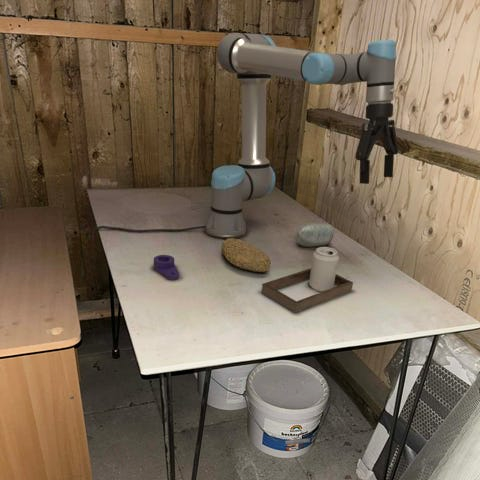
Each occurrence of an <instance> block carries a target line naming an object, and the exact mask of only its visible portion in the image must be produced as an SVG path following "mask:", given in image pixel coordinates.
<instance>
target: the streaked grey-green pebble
mask: <svg viewBox="0 0 480 480" xmlns="http://www.w3.org/2000/svg"><path fill="white" fill-rule="evenodd" d="M334 233H335V231H334V227H333V226H332V225H331V224H329V223H326V222H320V221H319V222H318V221H317V222H315V221H313V222H308V223H304V224H302V225H301V226H300V227H299V228H298V230H297V232H296V236H295V240H296V242H297V244H298V245H299V246H301V247H305V248H315V247H316V248H317V247H324V246H327V245H328V244H330V242H332V240H333V238H334Z"/></svg>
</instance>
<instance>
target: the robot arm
mask: <svg viewBox="0 0 480 480" xmlns="http://www.w3.org/2000/svg"><path fill="white" fill-rule="evenodd" d="M216 59H217V62H218V63H219V65H220V67H221V68H222V69H223V70H224V71H226V72H228V73H231V74H236V80H237V82H238V83H239V84H240V86H241V155H242V156H241V158H240V159H239V160H238V163H237V165H236V164H235V165H233V164H230V165H222V166H218V167H217V168H215V169H214V170H213V172H212V174H211V181H210V212H209V214H208V218H207V220H206V222H205V225H200V226H199V225H198V226H192V227H184V228H152V229H151V228H150V229H133V228H126V227H125V228H124V227H118V226H109V225H108V226H107V225H99V226H96V227H95V228H94V229H93V231H94V232H97V230H100V229H108V230H117V231H118V230H119V231H124V232H125V231H126V232H130V233H131V232H133V233H149V232H150V233H151V232H184V231H190V230H197V229H198V230H199V229H204V231H205V233H206V234H207V235H208V236H210V237H213V238H216V239H223V240H227V239H230V238H234V239H239V238H242V237H244V236H245V235H246V233H247V227H246V221H245V219H244V215H243V205H244V202H247V201H252V200H255V199H262V198H264V197H267V196H269V195H270V194H271V193H272V192H273V190H274V188H275V186H276V181H277V180H276V179H277V178H276V173H275V171H274V169H273V168H272V167H271V166H270V160H269V159H268V158H267V157H266V156H267V155H266V154H267V153H266V148H267V147H266V144H267V142H266V141H267V86H268V85H267V84H268V83H269V82H270V81H271V79H272V76H276V77H281V78H287V79H293V80H298V81H304V82H307V83H308V84H311V85H314V86H315V85H317V86H322V85H329V84H330V85H335V86H337V85H338V86H343V85H349V84H356V83H365V82H366V90H365V92H366V95H365V102H366V106H365V119H366V120H369V122H363V123H362V126H361V133H360V137H359V140H358V145H357V148H356V151H355V156H354V159H356V161H359V184H364V185H369V184H370V170H371V169H370V168H371V167H370V166H371V160H370V159H369V158H370V155H371V153H372V151H373V148H374V146H375V144H376V142H377V141H378V140H379V139H380V141H381V144H382V146H383V149H384V151H385V154H384V163H383V178H394V163H395V162H394V161H395V155H398V153H399V144H398V138H397V133H396V127H395V125H396V124H395V123H396V121H395V119H389V118H392V117H393V116H394V104H393V101H394V95H395V92H396V91H395V77H396V75H395V74H396V60H397V45H396V42H395V40H392V39H381V40H374V41H371V42H369V43H368V44H367V49H366V51H363V52H357V53H332V52H331V53H330V52H329V53H328V52H321V51H312V50H305V49H299V48H291V47H283V46H277V45H276V43H275V42H274V41H273V39H272V38H271V37H270V36H268V35H263V34H260V33H245V32H243V33H242V32H230V33H228V34H226V35H225V36H223V37H222V38H221V40H220V41H219V43H218V46H217V48H216Z"/></svg>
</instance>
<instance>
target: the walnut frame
mask: <svg viewBox="0 0 480 480" xmlns="http://www.w3.org/2000/svg"><path fill="white" fill-rule="evenodd" d="M310 272H311V267H309V268H307V269H304V270H301V271H297V272H295V273H291V274H288V275H285V276H282V277H278V278H276V279H273V280H269V281H267V282H264V283H261V294H262V295H264V296H266V297H268V299H269V298H270V299H271V300H272V301H274V302H276V303H277V304H279V305H281V306H282V307H283V308H286V309H287V310H289V311H291V312H292V313H294V314H297V313H299V312H302V311H305V310H307V309H309V308H312V307H314V306H317V305H320V304H322V303H325V302H328V301H330V300H332V299H335V298H337V297H340V296H343V295H345V294H348V293H351V292H352V291H353V286H354V281H351V280H349V279H347V278H345V277H343V276H341V275H339V274H337V273H336V276H335V282H334V287H333V288H331V289H328V290H326V291H323V292H322V291H319V292H318V293H315V294H312V295H310V296H307V297H304V298H302V299H299V300H296V299H293V298H291V297H290V296H288V295H286V294H285V293H283V292H281V291H280V289H283V288H287V287H288V286H292V285H295V284H298V283H301V282H304V281H307V280H309V279H310Z"/></svg>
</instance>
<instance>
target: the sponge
mask: <svg viewBox="0 0 480 480" xmlns="http://www.w3.org/2000/svg"><path fill="white" fill-rule="evenodd" d="M221 253H222V254H223V256H224V257H225V259H226V260H227V261H228V262H229V263H230V264H231V265H233V266H235V267H238V268H240V269H242V270H248V271H251V272H256V273H257V272H258V273H264V272H267V271H269V270H270V269H271V264H272V260H271V258H270V257H269V256H268V254H267V253H266V252H264V250H261V249H260V248H259V247H257V246H255V245H253V244H248V243H247V242H244V241H243V240H241V239H239V238H230V239H224V241H222V243H221Z"/></svg>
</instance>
